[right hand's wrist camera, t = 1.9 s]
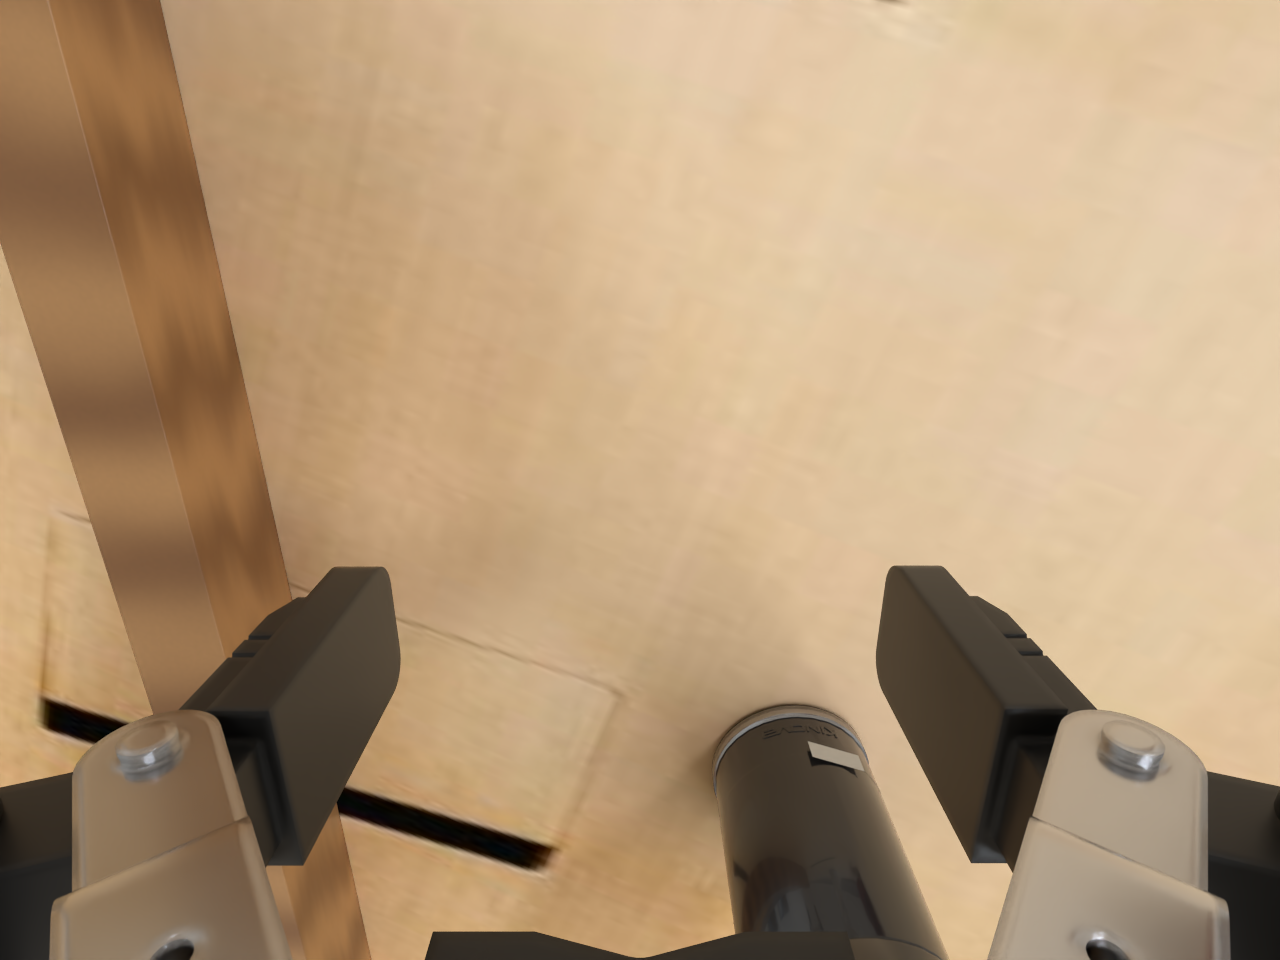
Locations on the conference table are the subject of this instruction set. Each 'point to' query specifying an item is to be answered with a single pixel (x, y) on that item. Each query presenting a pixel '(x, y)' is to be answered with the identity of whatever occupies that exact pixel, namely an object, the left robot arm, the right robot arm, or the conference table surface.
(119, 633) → the conference table surface
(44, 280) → the post
